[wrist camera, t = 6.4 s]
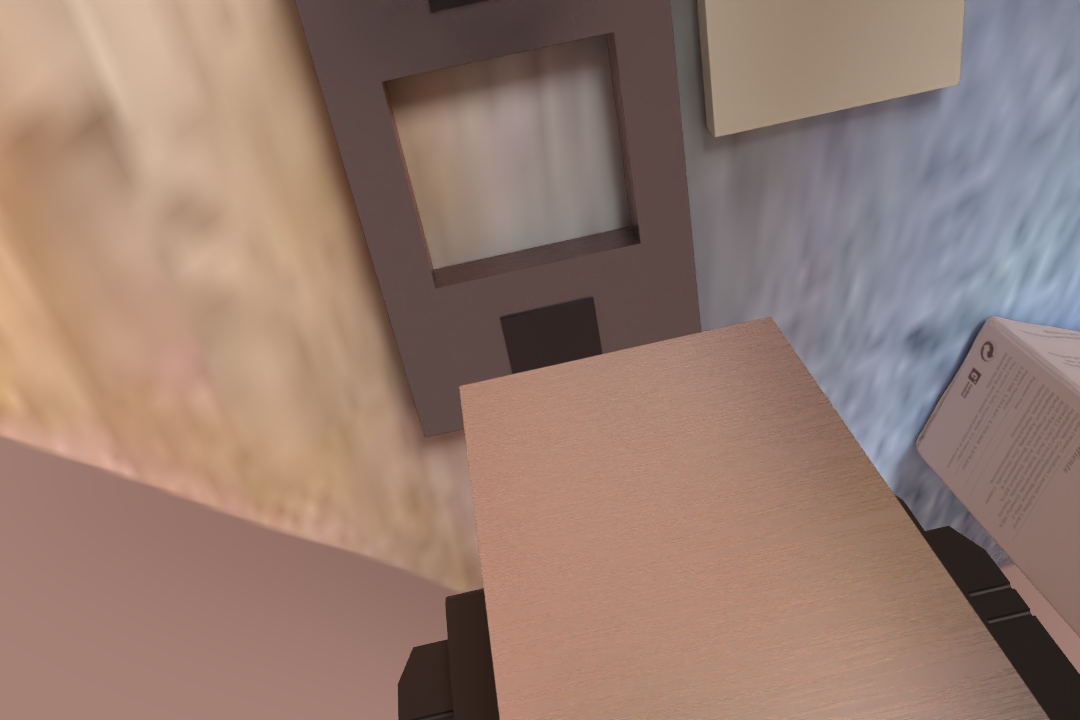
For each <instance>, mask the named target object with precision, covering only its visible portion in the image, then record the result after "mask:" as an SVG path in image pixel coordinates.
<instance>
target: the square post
mask: <svg viewBox="0 0 1080 720" xmlns="http://www.w3.org/2000/svg"><path fill="white" fill-rule="evenodd" d="M459 389H460V397H461V405H462V414H463V422H464V430H465V438H466V446H467V455H468V463H469V471H470V479H471V487H472V496H473V504H474V512H475V520H476V528H477V537H478V545H479V553H480V561H481V569H482V578H483V586H484V594H485V602H486V610H487V618H488V627H489V635H490V643H491V651H492V659H493V668H494V676H495V684H496V692H497V700H498V709H499V717H500V720H1050V719H1049V718H1048V716H1047V715H1046V713H1045V712H1044V710H1043V709H1042V708H1041V706H1040V705H1039V703H1038V702H1037V700H1036V699H1035V697H1034V696H1033V695H1032V693H1031V692H1030V690H1029V689H1028V687H1027V686H1026V684H1025V683H1024V682H1023V680H1022V679H1021V677H1020V676H1019V674H1018V673H1017V671H1016V670H1015V669H1014V667H1013V666H1012V664H1011V663H1010V661H1009V660H1008V658H1007V657H1006V656H1005V654H1004V653H1003V651H1002V650H1001V648H1000V647H999V645H998V644H997V643H996V641H995V640H994V638H993V637H992V635H991V634H990V632H989V631H988V630H987V628H986V627H985V625H984V624H983V622H982V621H981V619H980V618H979V617H978V615H977V614H976V612H975V611H974V609H973V608H972V606H971V605H970V604H969V602H968V601H967V599H966V598H965V596H964V595H963V594H962V592H961V591H960V589H959V588H958V586H957V585H956V583H955V582H954V581H953V579H952V578H951V576H950V575H949V573H948V572H947V570H946V569H945V568H944V566H943V565H942V563H941V562H940V560H939V559H938V557H937V556H936V555H935V553H934V552H933V550H932V549H931V547H930V546H929V544H928V543H927V542H926V540H925V539H924V537H923V536H922V534H921V533H920V531H919V530H918V529H917V527H916V526H915V524H914V523H913V521H912V520H911V518H910V517H909V516H908V514H907V513H906V511H905V510H904V508H903V507H902V505H901V504H900V503H899V501H898V500H897V498H896V497H895V495H894V494H893V492H892V491H891V490H890V488H889V487H888V485H887V484H886V482H885V481H884V479H883V478H882V477H881V475H880V474H879V472H878V471H877V469H876V468H875V466H874V465H873V464H872V462H871V461H870V459H869V458H868V456H867V455H866V454H865V452H864V451H863V449H862V448H861V446H860V445H859V443H858V442H857V441H856V439H855V438H854V436H853V435H852V433H851V432H850V430H849V429H848V428H847V426H846V425H845V423H844V422H843V420H842V419H841V417H840V416H839V415H838V413H837V412H836V410H835V409H834V407H833V406H832V404H831V403H830V402H829V400H828V399H827V397H826V396H825V394H824V393H823V391H822V390H821V389H820V387H819V386H818V384H817V383H816V381H815V380H814V378H813V377H812V376H811V374H810V373H809V371H808V370H807V368H806V367H805V365H804V364H803V363H802V361H801V360H800V358H799V357H798V355H797V354H796V352H795V351H794V350H793V348H792V347H791V345H790V344H789V342H788V341H787V339H786V338H785V337H784V335H783V334H782V332H781V331H780V329H779V328H778V326H777V325H776V324H775V322H774V321H773V319H772V318H771V317H767V318H763V319H758V320H754V321H749V322H745V323H741V324H736V325H732V326H727V327H723V328H718V329H714V330H709V331H705V332H700V333H696V334H691V335H687V336H682V337H678V338H673V339H669V340H664V341H660V342H655V343H651V344H646V345H642V346H637V347H633V348H628V349H624V350H619V351H615V352H610V353H606V354H601V355H597V356H593V357H588V358H584V359H579V360H575V361H570V362H566V363H561V364H557V365H552V366H548V367H543V368H539V369H534V370H530V371H525V372H521V373H516V374H512V375H507V376H503V377H498V378H494V379H489V380H485V381H480V382H476V383H471V384H467V385H462V386H459Z"/></svg>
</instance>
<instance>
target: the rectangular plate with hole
mask: <svg viewBox="0 0 1080 720" xmlns="http://www.w3.org/2000/svg"><path fill="white" fill-rule="evenodd" d="M295 3H296V7H297V10H298V13H299V17H300V20H301V23H302V27H303V30H304V33H305V37H306V40H307V44H308V47H309V50H310V54H311V57H312V60H313V64H314V67H315V70H316V74H317V77H318V80H319V84H320V87H321V91H322V94H323V97H324V101H325V104H326V107H327V111H328V114H329V117H330V121H331V124H332V127H333V131H334V134H335V138H336V141H337V144H338V148H339V151H340V154H341V158H342V161H343V164H344V168H345V171H346V174H347V178H348V181H349V185H350V188H351V191H352V195H353V198H354V201H355V205H356V208H357V211H358V215H359V218H360V222H361V225H362V228H363V232H364V235H365V238H366V242H367V245H368V248H369V252H370V255H371V258H372V262H373V265H374V269H375V272H376V275H377V279H378V282H379V285H380V289H381V292H382V295H383V299H384V302H385V305H386V309H387V312H388V316H389V319H390V322H391V326H392V329H393V332H394V336H395V339H396V342H397V346H398V349H399V352H400V356H401V359H402V363H403V366H404V369H405V373H406V376H407V379H408V383H409V386H410V389H411V393H412V396H413V399H414V403H415V406H416V410H417V413H418V416H419V420H420V423H421V426H422V430H423V433H424V436H425V437H430V436H434V435H439V434H443V433H448V432H452V431H456V430H461V429H464V422H463V414H462V405H461V397H460V389H459V386H462V385H467V384H471V383H476V382H480V381H485V380H489V379H494V378H498V377H503V376H507V375H512V374H516V373H521V372H525V371H530V370H534V369H539V368H543V367H548V366H552V365H557V364H561V363H566V362H570V361H575V360H579V359H584V358H588V357H593V356H597V355H601V354H606V353H610V352H615V351H619V350H624V349H628V348H633V347H637V346H642V345H646V344H651V343H655V342H660V341H664V340H669V339H673V338H678V337H682V336H687V335H691V334H696V333H700V332H701V326H700V315H699V305H698V294H697V283H696V273H695V262H694V251H693V241H692V230H691V219H690V209H689V198H688V187H687V177H686V166H685V155H684V145H683V134H682V123H681V113H680V102H679V91H678V81H677V70H676V59H675V49H674V38H673V27H672V17H671V6H670V0H295ZM603 34H606V35H607V42H608V50H609V58H610V65H611V73H612V81H613V88H614V96H615V103H616V111H617V119H618V126H619V134H620V142H621V149H622V157H623V165H624V172H625V180H626V188H627V195H628V203H629V211H630V218H631V227H626V228H622V229H617V230H613V231H608V232H604V233H599V234H595V235H590V236H585V237H581V238H576V239H572V240H567V241H563V242H558V243H554V244H549V245H544V246H540V247H535V248H531V249H526V250H522V251H517V252H513V253H508V254H504V255H499V256H494V257H490V258H485V259H481V260H476V261H472V262H467V263H463V264H458V265H453V266H449V267H444V268H440V269H435V270H433V266H432V262H431V258H430V254H429V251H428V247H427V243H426V239H425V235H424V231H423V227H422V224H421V220H420V216H419V212H418V208H417V204H416V201H415V197H414V193H413V189H412V185H411V181H410V178H409V174H408V170H407V166H406V162H405V158H404V155H403V151H402V147H401V143H400V139H399V135H398V132H397V128H396V124H395V120H394V116H393V112H392V108H391V105H390V101H389V97H388V93H387V89H386V85H385V82H384V81H388V80H392V79H397V78H402V77H406V76H411V75H416V74H421V73H425V72H430V71H435V70H439V69H444V68H449V67H453V66H458V65H463V64H467V63H472V62H477V61H481V60H486V59H491V58H495V57H500V56H505V55H509V54H514V53H519V52H523V51H528V50H533V49H537V48H542V47H547V46H551V45H556V44H561V43H565V42H570V41H575V40H579V39H584V38H589V37H593V36H598V35H603Z"/></svg>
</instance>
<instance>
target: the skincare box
mask: <svg viewBox="0 0 1080 720" xmlns="http://www.w3.org/2000/svg"><path fill="white" fill-rule="evenodd" d="M916 446H917V449H918V453H919V455H920V456H921V457H922V458H923V459H924V460H925V462H926V463H927V464H928V465H929V466H930V467H931V468H932V470H933V471H934V472H935V473H936V474H937V475H938V476H939V478H940V479H941V480H942V481H943V482H944V483H945V485H946V486H947V487H948V488H949V489H950V490H951V491H952V492H953V494H954V495H955V496H956V497H957V498H958V499H959V501H960V502H961V503H962V504H963V505H964V506H965V507H966V508H967V509H968V511H969V512H970V513H971V514H972V515H973V516H974V517H975V518H976V520H977V521H978V522H979V523H980V524H981V525H982V527H983V528H984V529H985V530H986V531H987V532H988V533H989V535H990V536H991V537H992V538H993V539H994V540H995V542H996V543H997V544H998V545H999V546H1000V547H1001V549H1002V550H1003V551H1004V552H1005V553H1006V554H1007V555H1008V557H1009V558H1010V559H1011V560H1012V561H1013V562H1014V563H1015V565H1016V566H1017V567H1018V568H1019V569H1020V570H1021V571H1022V573H1023V574H1024V575H1025V576H1026V577H1027V578H1028V580H1030V582H1031V583H1032V584H1033V585H1034V586H1035V587H1036V589H1037V590H1038V591H1039V592H1040V593H1041V594H1042V595H1043V597H1044V598H1046V600H1047V601H1048V602H1049V603H1050V604H1051V606H1052V607H1053V608H1054V609H1055V610H1056V611H1057V612H1058V614H1059V615H1060V616H1061V617H1062V618H1063V619H1064V620H1065V622H1066V623H1067V624H1068V625H1069V626H1070V627H1071V628H1072V630H1073V631H1074V632H1075V633H1076V634H1077V635H1078V636H1079V637H1080V332H1079V331H1073V330H1068V329H1063V328H1057V327H1052V326H1045V325H1038V324H1031V323H1023V322H1018V321H1014V320H1010V319H1005V318H1001V317H997V316H991V317H989V318H988V319H987V321H986V322H985V323H984V325H983V327H982V328H981V330H980V332H979V333H978V335H977V337H976V339H975V341H974V343H973V345H972V347H971V349H970V351H969V353H968V355H967V356H966V358H965V360H964V362H963V363H962V365H961V367H960V368H959V370H958V372H957V373H956V375H955V377H954V378H953V380H952V382H951V383H950V385H949V386H948V388H947V389H946V391H945V393H944V394H943V396H942V397H941V399H940V400H939V402H938V404H937V405H936V407H935V409H934V411H933V412H932V414H931V416H930V418H929V420H928V421H927V423H926V425H925V426H924V428H923V430H922V432H921V433H920V435H919V437H918V439H917V441H916Z"/></svg>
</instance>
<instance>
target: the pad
mask: <svg viewBox="0 0 1080 720" xmlns="http://www.w3.org/2000/svg"><path fill="white" fill-rule="evenodd" d="M964 7H965V0H697V8H698V20H699V33H700V46H701V58H702V71H703V83H704V96H705V109H706V121H707V129H708V130H709V131H710V132H711V133H712V134H713V135H714V137H719V136H724V135H729V134H733V133H738V132H742V131H747V130H752V129H756V128H761V127H765V126H770V125H775V124H779V123H784V122H788V121H793V120H798V119H802V118H807V117H811V116H816V115H821V114H825V113H830V112H834V111H839V110H844V109H848V108H853V107H857V106H862V105H866V104H871V103H876V102H880V101H885V100H889V99H894V98H899V97H903V96H908V95H912V94H917V93H922V92H926V91H931V90H935V89H940V88H945V87H949V86H954V85H958V84H959V82H960V67H961V52H962V37H963V22H964Z"/></svg>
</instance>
